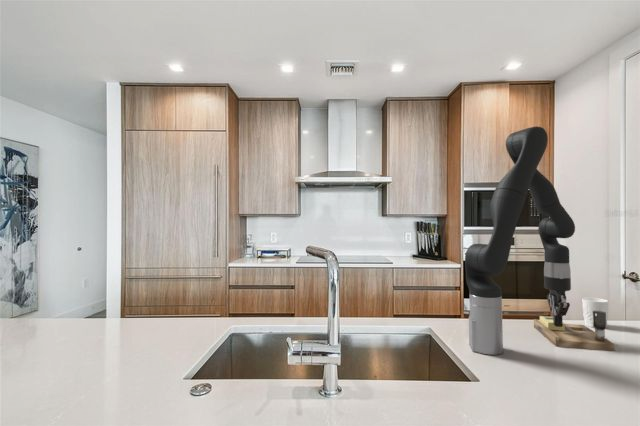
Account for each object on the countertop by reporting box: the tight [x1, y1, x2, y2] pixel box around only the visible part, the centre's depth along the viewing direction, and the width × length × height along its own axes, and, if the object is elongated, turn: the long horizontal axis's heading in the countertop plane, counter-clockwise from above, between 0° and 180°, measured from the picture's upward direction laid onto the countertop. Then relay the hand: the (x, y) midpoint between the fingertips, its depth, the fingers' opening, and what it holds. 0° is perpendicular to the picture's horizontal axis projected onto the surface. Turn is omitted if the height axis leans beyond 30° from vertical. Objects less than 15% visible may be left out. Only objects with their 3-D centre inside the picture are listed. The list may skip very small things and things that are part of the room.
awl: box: [592, 311, 607, 342], centre depth 108 cm, size 3×3×9 cm
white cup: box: [581, 296, 609, 329], centre depth 128 cm, size 8×8×10 cm
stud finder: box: [539, 315, 566, 331], centre depth 121 cm, size 5×8×3 cm, turn 165°
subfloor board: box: [533, 318, 616, 352], centre depth 116 cm, size 16×20×3 cm
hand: (558, 326), depth 115 cm, fingers closed
